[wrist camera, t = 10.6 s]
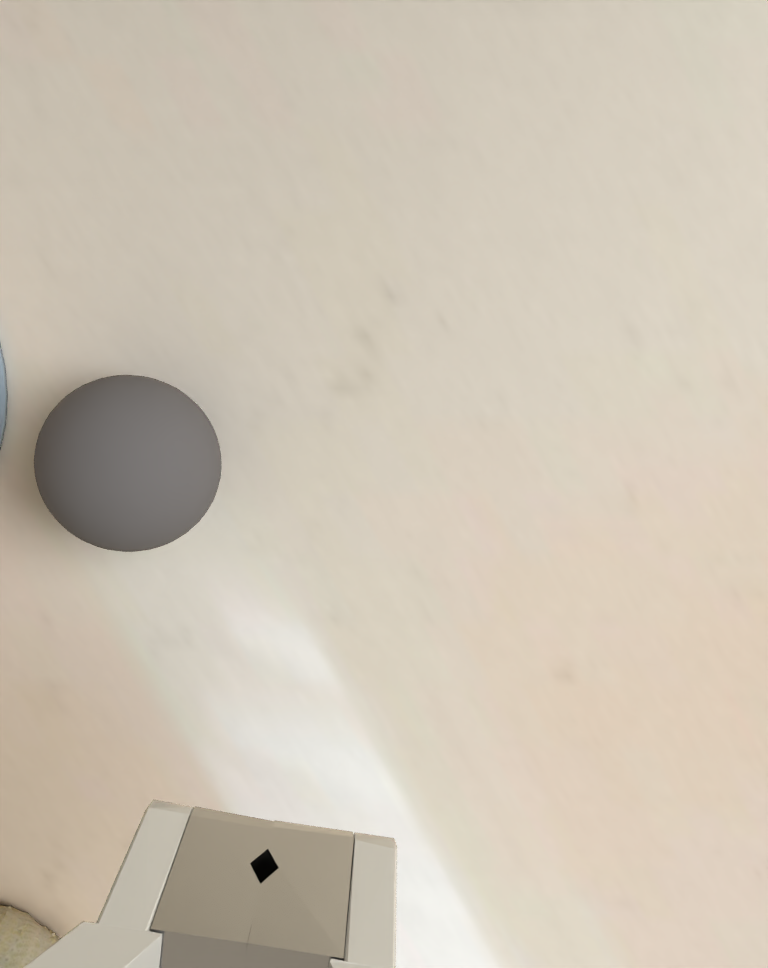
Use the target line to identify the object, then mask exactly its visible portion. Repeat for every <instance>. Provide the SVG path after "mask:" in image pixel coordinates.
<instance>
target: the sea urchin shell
mask: <svg viewBox="0 0 768 968" xmlns="http://www.w3.org/2000/svg"><path fill="white" fill-rule="evenodd" d="M57 941H58V936H56V935H55V932H52V930H50V931H49V930H48V929H47V927H46V926H41V925H40V924H38V923H37V922H36V921H35V920H34V919H33V918H32V917H31V916H30V915H29V914H28V913H26V912H21V911H20V910H18V909H15V908H13V907H12V906H8V907H6V906H2V905H0V968H23V967H25V966H26V965H27V964H29V963H30V962H31V961H32V960H34V959H35V958H36V957H38V956H39V955H40V954H41V953H43V952H44V951H45V950H47V949H48V948H49V947H50V946H52V945H53V944H54V943H56V942H57Z"/></svg>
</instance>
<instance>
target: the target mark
mask: <svg viewBox="0 0 768 968" xmlns="http://www.w3.org/2000/svg"><path fill="white" fill-rule="evenodd" d="M6 413H7V383H6V370H5V363H4V358H3V354H2V349H1V344H0V449H1V444H2V440H3V435H4V430H5V425H6Z"/></svg>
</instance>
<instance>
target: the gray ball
mask: <svg viewBox="0 0 768 968" xmlns="http://www.w3.org/2000/svg"><path fill="white" fill-rule="evenodd" d="M34 469H35V477H36V481H37V485H38V488H39V491H40V494H41V496H42V498H43V501H44V503H45V504H46V506H47V508H48V509H49V511H50V512H51V513H52V515H53V516H54V517H55V518H56V520H57V521H58V522H59V523H60V524H61V525H62V526H63V527H64V528H66V529H67V530H68V531H69V532H70V533H72V534H73V535H75V536H76V537H78V538H80V539H81V540H83V541H85V542H87V543H90V544H92V545H95V546H97V547H101V548H104V549H108V550H115V551H123V552H134V551H142V550H149V549H153V548H157V547H160V546H163V545H165V544H168V543H170V542H172V541H174V540H176V539H177V538H179V537H181V536H182V535H184V534H185V533H187V532H188V531H189V530H190V529H191V528H192V527H194V526H195V525H196V524H197V523H198V522H199V521H200V520H201V518H202V517H203V516H204V515H205V513H206V512H207V510H208V509H209V507H210V505H211V503H212V502H213V500H214V497H215V495H216V492H217V489H218V485H219V481H220V476H221V453H220V446H219V443H218V439H217V436H216V433H215V431H214V429H213V427H212V425H211V423H210V421H209V419H208V418H207V416H206V415H205V414H204V412H203V411H202V410H201V409H200V407H199V406H198V405H197V404H196V403H195V402H194V401H193V400H192V399H190V398H189V397H188V396H187V395H186V394H184V393H183V392H181V391H180V390H178V389H177V388H175V387H173V386H171V385H169V384H167V383H164V382H162V381H159V380H156V379H153V378H149V377H144V376H134V375H117V376H111V377H106V378H101V379H98V380H95V381H93V382H90V383H87V384H85V385H83V386H81V387H79V388H78V389H76V390H74V391H73V392H71V393H70V394H69V395H67V396H66V397H65V398H64V399H63V400H61V402H60V403H59V404H58V405H57V406H56V407H55V408H54V409H53V410H52V412H51V413H50V414H49V416H48V418H47V419H46V421H45V423H44V425H43V427H42V429H41V431H40V433H39V436H38V440H37V443H36V449H35V456H34Z"/></svg>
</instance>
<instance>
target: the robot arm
mask: <svg viewBox="0 0 768 968" xmlns="http://www.w3.org/2000/svg"><path fill="white" fill-rule="evenodd" d="M396 877H397V845H396V842H395V840H394V838H388V837H381V836H375V835H368V834H362V833H354V835H353V832H350V831H343V830H337V829H330V828H323V827H316V826H309V825H303V824H296V823H289V822H282V821H270V820H264V819H259V818H254V817H248V816H243V815H238V814H232V813H227V812H221V811H216V810H211V809H205V808H200V807H191V806H185V805H180V804H174V803H169V802H164V801H158V800H153V801H152V802H151V804H150V805H149V806H148V808H147V809H146V810H145V812H144V815H143V817H142V819H141V822H140V824H139V826H138V829H137V831H136V833H135V835H134V838H133V840H132V842H131V845H130V847H129V849H128V851H127V854H126V856H125V858H124V861H123V863H122V865H121V868H120V870H119V872H118V874H117V877H116V879H115V881H114V884H113V886H112V888H111V890H110V893H109V895H108V897H107V900H106V902H105V904H104V907H103V909H102V911H101V913H100V916H99V918H98V920H97V923H94V922H85V921H83V922H81V923H80V924H79V925H77V926H76V927H75V928H74V929H72V930H71V931H70V932H68V933H67V934H66V935H65V936H63V937H62V938H61V939H59V940H58V941H57V942H56V943H54V944H53V945H52V946H50V947H49V948H48V949H47V950H45V951H44V952H43V953H41V954H40V955H39V956H38V957H36V958H35V959H34V960H32V961H31V962H30V963H29V964H27V965H26V966H25V967H23V968H395V960H396Z"/></svg>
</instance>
